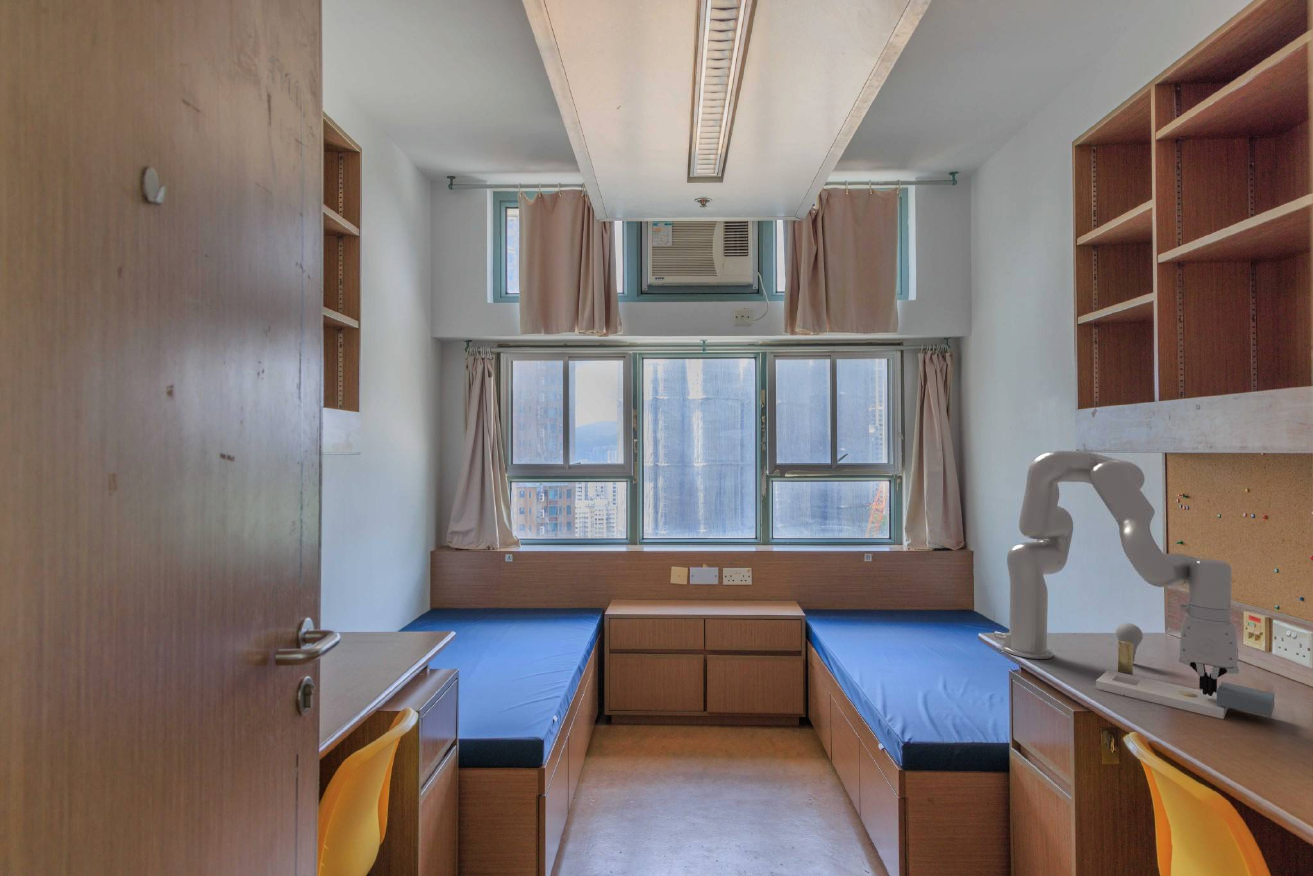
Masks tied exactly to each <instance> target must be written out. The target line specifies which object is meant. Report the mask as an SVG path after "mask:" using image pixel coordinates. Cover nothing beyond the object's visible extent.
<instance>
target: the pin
mask: <svg viewBox="0 0 1313 876" xmlns="http://www.w3.org/2000/svg"><path fill="white" fill-rule="evenodd" d="M1117 646H1118V647H1117V648H1118V649H1117V672H1120V673H1124V674H1129V675H1133V676H1134V662H1133V643H1131V642H1128V641H1119V640H1118V645H1117Z"/></svg>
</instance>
